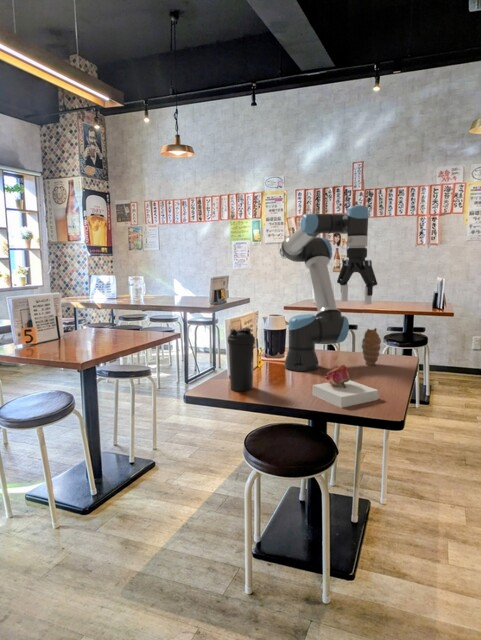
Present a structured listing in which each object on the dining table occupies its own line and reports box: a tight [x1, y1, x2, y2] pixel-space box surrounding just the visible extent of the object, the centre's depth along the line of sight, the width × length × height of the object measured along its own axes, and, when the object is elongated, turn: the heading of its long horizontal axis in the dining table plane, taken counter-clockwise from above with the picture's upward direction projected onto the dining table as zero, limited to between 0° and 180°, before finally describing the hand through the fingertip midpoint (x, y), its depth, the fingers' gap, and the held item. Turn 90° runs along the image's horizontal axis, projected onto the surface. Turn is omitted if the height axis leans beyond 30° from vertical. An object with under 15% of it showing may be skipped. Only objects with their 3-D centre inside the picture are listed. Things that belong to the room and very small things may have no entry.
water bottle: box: [227, 327, 256, 392], centre depth 172 cm, size 10×10×23 cm
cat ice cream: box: [361, 327, 382, 367], centre depth 201 cm, size 9×8×18 cm
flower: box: [323, 364, 353, 388], centre depth 160 cm, size 10×9×8 cm
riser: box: [312, 379, 379, 409], centre depth 159 cm, size 16×16×4 cm
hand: (355, 302), depth 175 cm, fingers open, 13 cm apart
